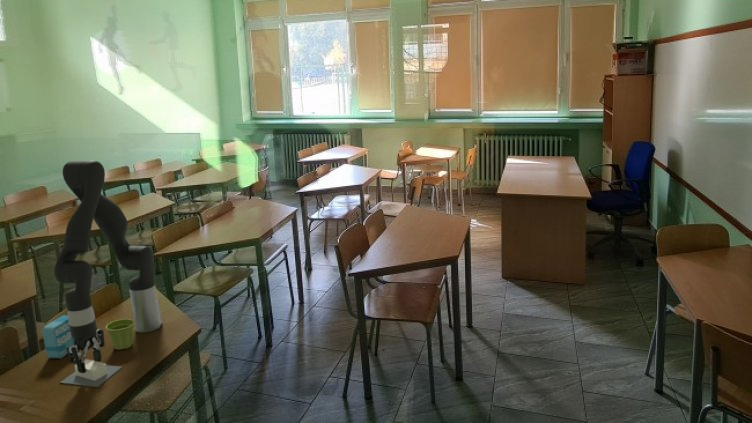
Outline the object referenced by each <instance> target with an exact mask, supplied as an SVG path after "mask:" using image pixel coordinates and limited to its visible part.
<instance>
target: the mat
mask: <svg viewBox="0 0 752 423" xmlns="http://www.w3.org/2000/svg"><path fill="white" fill-rule="evenodd" d="M106 367H107V373H108V374H106V375H104V376H102V377H101V378H99V379H97V380H95V381H94V380H90V379H87V378H84V377H80V376H77V375H76V372H75V371H73V373H71V374H70V375H68V376H67V377H66V378H64V379H62V380H61V381H60V383H59V384H61V383H63V385H71V384H73V385H72V386H81V385H82V387H92V388H99V387H100V386H101V385H103V384H104V383H105V382H106V381H108V380H109V379H110V378H112V377H113V376H114V375H116V374H117V373H118V372H120V371H121V370H122V369H123V366H118V365H107V364H106Z"/></svg>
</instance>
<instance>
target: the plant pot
mask: <svg viewBox="0 0 752 423" xmlns="http://www.w3.org/2000/svg"><path fill="white" fill-rule="evenodd" d="M134 325H135V322H134V319H131V318H130V319H129V318H120V319H117V320H113V321H111V322H108V323H107V325H106V326H105V330H107V332H108V334H109V336H110V339H111V343H112V345H113V348H114V350H123V349H125V350H127V349H128V348H130V347H132V346H133V329H134Z"/></svg>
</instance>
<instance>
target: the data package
mask: <svg viewBox="0 0 752 423" xmlns="http://www.w3.org/2000/svg"><path fill="white" fill-rule="evenodd" d="M41 332H42V333H41V334H42V338H43V343H44V349H45V352H46V357H47V358H49V359H62V358H64V357H65V356H67V355H68V352H67V347H71V346H73V345H74V338H73V337H72V336H71V332H70V326H69V321H68V314H67V315H66V314H63V315H61V316H59V317H58V318H56V319H55V320H53V321H52V322H49V323H47V324H46V325H45V326H43V328H42V330H41Z"/></svg>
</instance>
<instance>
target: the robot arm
mask: <svg viewBox="0 0 752 423" xmlns="http://www.w3.org/2000/svg"><path fill="white" fill-rule="evenodd" d="M62 176H63V180H64V182H65V184H66V186H67V187H68V188H69V189H70V190H71V192H72V193H73V194H74V195H75V196H76V197H77V198H78V200H79V201H80V203H79V206H78V207H77V208H76V210H75V211H74V213H73V214H72V216H71V217H70V219H69V221H68V223H67V225H66V227H65V228H66V229H65V235H64V242H63V247H62V249H61V251H60V253H59V256H58V258H57V260H56V262H55V265H54V270H53V272H54V273H53V274H54V278H55V279H56V281H57V282H59V283H61V284H75V288H71V289H68V290H67V291H66V292H65V294H64V299H65V304H66V309H67V310H66V311H67V315H68V321H69V326H70V332H71V336H72V337H73V338H74V345H73V346H71V347H67V352H68V354H67V356H68V358H69V359H68V360H69V362H70V364H72V365H73V364H74V365H77V368H78V372H80V373H85V372H86V367H85V362H84V360H86V359H85V358H86V356H87V354H88V351H89V350H90V349H91V350H92V356H93V361H97V362H102V353H101V351H102V348H103V347H105V345H106V344H105V335H104V330H103V329H101V328H98V326H97V322H96V315H95V310H94V308H93V304H92V299H91V286H92V279H93V269H92V266H91V264H89V263H88V261H85V260H76V258H77V257H78V256H79V255H82V254H86V253H87V252H88V251H89V248H90V241H91V240H90V239H91V233H92V227H93V226H92V225H93V222H94V223H95V224H96V226H97V227H98V228H99V230H100V231H101V233H102V234H103V235H104V237H105V239H106V240H107V242H108V243H109V246H110V247H111V248H112V250H113V251H112V252H114V254H115V256H116V258H117V260H118V263H119V265H120V266H121V267H122V268H123V269H124V270H127V271H139V274H138V276H135V277H132V278H131V279H130V280H129V281H128V288H129V289H128V290H129V295H130V302H131V306H132V314H133V321H134V328H135V332H137V333H139V334H140V333H141V334H143V333H144V334H145V333H150V332H154V331H157V330H158V329H160V328H161V326H162V324H163V320H162V314H161V306H160V301H159V300H158V295H157V289H156V280H155V279H156V271H155V257H154V253H153V250H152V248H151V247H150V246H147V245H131V244H130V243H129V242H128V241H127V239H126V234H127V231H128V226H129V223H128V219H127V218H126V216H125V213H124V212H123V211H122V209H121V207H120V206H119V205H118V204H117V203H116V202H114V201H112V199H110V198H108V196H105V195H104V194H102V191H103V188H104V184H105V179H106V171H105V168H104V166H103V164H102V163H101V162H100V161H98V160H71V161H68V162H66V163H65V164H64V165H63V167H62Z"/></svg>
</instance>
